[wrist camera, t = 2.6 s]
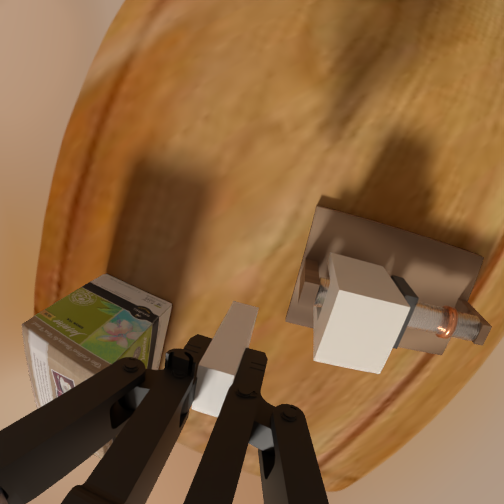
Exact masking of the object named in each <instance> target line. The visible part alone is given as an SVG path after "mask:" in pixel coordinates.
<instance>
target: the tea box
mask: <svg viewBox="0 0 504 504" xmlns="http://www.w3.org/2000/svg"><path fill="white" fill-rule="evenodd" d="M171 308H172V303H169V302H167V301H165V300H163V299H160V298H158V297H156V296H154V295H151V294H149V293H147V292H145V291H143V290H141V289H138V288H136V287H134V286H132V285H130V284H127V283H125V282H123V281H121V280H119V279H117V278H115V277H113V276H110V275H108V274H104V275H102V276H100V277H98V278H96V279H94V280H93V281H91V282H89V283H88V284H85V285H84V286H82V287H81V288H79V289H77V290H76V291H74V292H72V293H71V294H69V295H68V296H66V297H64V298H63V299H61V300H59V301H58V302H56V303H54V304H53V305H52V306H50V307H48V308H47V309H45V310H43V311H42V312H40V313H38V314H37V315H35V316H33V317H32V318H31V319H29V320H28V321H26V322H25V323H23V324H22V335H23V342H24V349H25V355H26V360H27V365H28V371H29V376H30V381H31V385H32V390H33V394H34V398H35V403H36V406H37V409H38V408H40V407H42V406H43V405H45V404H47V403H48V402H50V401H52V400H53V399H55V398H57V397H58V396H60V395H62V394H63V393H65V392H67V391H68V390H70V389H72V388H73V387H75V386H77V385H78V384H80V383H82V382H83V381H85V380H86V379H88V378H90V377H91V376H93V375H95V374H96V373H98V372H100V371H101V370H103V369H104V368H106V367H108V366H109V365H111V364H113V363H114V362H116V361H117V360H119V359H121V358H124V357H133V358H137V359H139V360H141V361H142V362H143V363H144V364H145V367H146V369H153V370H158V368H159V364H160V359H161V354H162V349H163V345H164V340H165V336H166V331H167V327H168V322H169V318H170V313H171ZM117 436H118V435H116V436H115V437H114V438H113V439H112V440H110V441H109V442H108V443H107V444H105V445H104V446H103V447H102V448H100V449H99V450H98V451H97V452H95V453H94V454H93V455H95V456H97V457H98V458H100V459H102V457H103V456H104V454H105V453H106V452H107V450H108V449H109V447H110V446H111V444H112V443H113V441H114V440H115V439H116V437H117Z"/></svg>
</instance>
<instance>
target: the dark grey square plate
mask: <svg viewBox="0 0 504 504" xmlns="http://www.w3.org/2000/svg"><path fill="white" fill-rule="evenodd" d="M391 279H392V280H393V282H394V283H395V285H396V286H397V288H398V289H399V290H400V292H401V293H402V295H403V296H404V298H405V300H406V301H407V303H408V304H409V306H410V307H411V308H410V310H409V312H408V315H407V317H406V320H405V322H404V324H403V326H402V329H401V331H400V333H399V335H398V338H397V340H396V342H395V344H394V346H393V348H396V349H397V347H398V345H399V343H400V341H401V339H402V337H403V334H404V332H405V330H406V328H407V326H408V323H409V321H410V319H411V316H412V314H413V312H414V309H415V307H416V304H417V302H418V299H419V298H418V296H417V295H416V294H415V292H414V291H413V290H412V288H411V287H410V286H409V284H408V283H407V282H406V281H405V279H404V278H402V277H398V276H395V275H391Z"/></svg>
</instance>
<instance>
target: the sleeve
mask: <svg viewBox="0 0 504 504" xmlns="http://www.w3.org/2000/svg"><path fill="white" fill-rule="evenodd" d="M327 265H328V270H329V276H330V281H331V282H330V285H329V288H328V291H327V294H326V297H325V300H324V303H323V306H322V308H320V307H316V306H314V307H313V310H314V361H317V362H322V363H326V364H331V365H336V366H341V367H345V368H350V369H356V370H361V371H366V372H371V373H377V374H380V372H381V371H382V369H383V367H384V365H385V363H386V361H387V359H388V357H389V355H390V352H391V350H392V348H393V346H394V344H395V342H396V340H397V338H398V335H399V333H400V331H401V329H402V326H403V324H404V322H405V320H406V317H407V315H408V312H409V310H410V308H411V307H410V306H409V304H408V303H407V301H406V300H405V298H404V296H403V295H402V293H401V292H400V290H399V289H398V288H397V286H396V285H395V283H394V282H393V280H392V279H391V277H390V276H389V274H388V273H387V271H386V270H385V269H384V267H383V266H380V265H376V264H372V263H369V262H365V261H361V260H358V259H354V258H350V257H346V256H342V255H339V254H335V253H331V252H330V255H329V259H328V262H327Z"/></svg>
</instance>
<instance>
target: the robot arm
mask: <svg viewBox="0 0 504 504" xmlns="http://www.w3.org/2000/svg"><path fill="white" fill-rule="evenodd" d="M258 309H259V308H258V307H254V306H250V305H247V304H243V303H239V302H236V301H233V303H232V305H231V307H230V309H229V310H228V312H227V314H226V316H225V318H224V319H223V321H222V323H221V325H220V327H219V329H218V330H217V332H216V334H215V336H214V338H213V339H212V338H208V337H205V336H202V335H199V334H197V335H195V336H194V337H192V338H190V340H189V341H188V343H187V345H186V346H185V347H184V349H172V350H169V351H168V352H167V353H166V359H165V368H164V370H153V369H146V367H145V364H144V363H143V362H142V361H141V360H139V359H137V358H133V357H124V358H121V359H119V360H117V361H116V362H114V363H113V364H111V365H109V366H108V367H106V368H104V369H103V370H101V371H100V372H98V373H96V374H95V375H93V376H91V377H90V378H88V379H86V380H85V381H83V382H82V383H80V384H78V385H77V386H75V387H73V388H72V389H70V390H68V391H67V392H65V393H63V394H62V395H60V396H58V397H57V398H55V399H53V400H52V401H50V402H48V403H47V404H45V405H43V406H42V407H40V408H38V409H37V410H35V411H33V412H32V413H30V414H28V415H27V416H25V417H23V418H21V419H20V420H18V421H16V422H14V423H13V424H11V425H10V426H8V427H6V428H4V429H3V430H1V431H0V504H26V503H28V502H29V501H31V500H32V499H34V498H36V497H37V496H39V495H40V494H41V493H43V492H44V491H45V490H47V489H48V488H49V487H51V486H52V485H53V484H55V483H56V482H57V481H59V480H60V479H62V478H63V477H64V476H66V475H67V474H68V473H69V472H71V471H72V470H73V469H75V468H76V467H77V466H79V465H80V464H81V463H82V462H84V461H85V460H86V459H88V458H89V457H90V456H91V455H93V454H94V453H95V452H97V451H98V450H99V449H100V448H102V447H103V446H104V445H105V444H107V443H108V442H109V441H110V440H112V439H113V438H114V437H115V436H116V435H118V436H117V437H116V439H115V440H114V441H113V443H112V444H111V446H110V447H109V449H108V450H107V452H106V453H105V454H104V456H103V457H102V459H101V460H100V462H99V463H98V465H97V466H96V467H95V469H94V470H93V472H92V473H91V475H90V476H89V478H88V479H87V481H86V482H85V483H84V484H83V485H77V486H75V487H73V488H72V490H71V491H70V492H69V493H68V494H67V496H66V497H65V499H64V500H63V501H62V503H61V504H145V503H146V501H147V499H148V497H149V495H150V493H151V491H152V489H153V487H154V485H155V483H156V481H157V479H158V477H159V475H160V473H161V471H162V469H163V467H164V465H165V463H166V461H167V459H168V457H169V455H170V453H171V451H172V449H173V447H174V445H175V443H176V441H177V439H178V437H179V435H180V433H181V430H182V428H183V426H184V424H185V422H186V420H187V418H188V414H189V409H190V407H191V405H192V409H193V410H196V411H199V412H202V413H205V414H208V415H211V416H215V417H218V418H217V421H216V423H215V426H214V428H213V431H212V433H211V436H210V439H209V441H208V444H207V446H206V449H205V451H204V454H203V456H202V459H201V462H200V464H199V467H198V469H197V472H196V474H195V476H194V479H193V482H192V484H191V486H190V489H189V491H188V494H187V496H186V499H185V501H184V503H183V504H232V502H233V498H234V495H235V491H236V488H237V484H238V480H239V477H240V473H241V469H242V465H243V462H244V458H245V454H246V450H247V446H248V443H249V444H251V445H253V446H255V447H256V448H258V455H259V464H260V473H261V481H262V490H263V498H264V504H329V503H328V499H327V495H326V491H325V488H324V484H323V480H322V477H321V473H320V469H319V466H318V462H317V458H316V455H315V451H314V447H313V444H312V440H311V437H310V433H309V429H308V426H307V422H306V418H305V415H304V413H303V412H302V411H301V410H300V409H299V408H298V407H296V406H294V405H289V404H281V405H278V406H276V407H275V406H273V405H271V404H269V403H267V402H266V401H265V400H264V399H263V398H262V396H261V393H260V391H261V386H262V381H263V377H264V373H265V368H266V364H267V360H268V359H267V357H266V354H265V353H264V352H261V351H257V350H253V349H249V348H248V347H249V344H250V340H251V336H252V332H253V328H254V324H255V320H256V316H257V312H258Z"/></svg>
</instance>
